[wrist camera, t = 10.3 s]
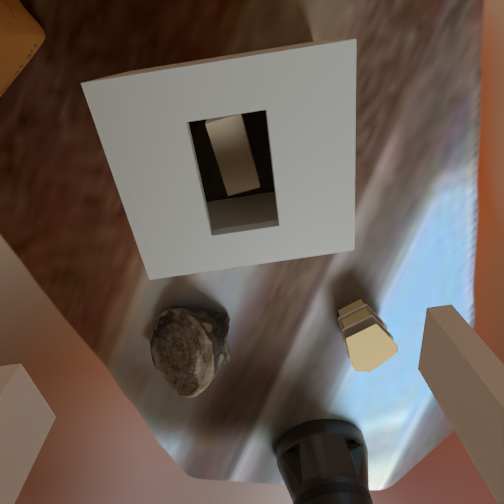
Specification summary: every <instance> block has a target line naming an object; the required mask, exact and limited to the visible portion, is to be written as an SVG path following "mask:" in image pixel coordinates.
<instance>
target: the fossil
mask: <svg viewBox="0 0 504 504" xmlns="http://www.w3.org/2000/svg"><path fill="white" fill-rule="evenodd" d="M229 320H230V318H229V316H228V314H227V313H212V312H211V311H210V310H205V309H191V308H183V307H173V308H170V309H167V310H165V311H163V312H162V313H161V314H159V315H158V317H157V321H156V326H155V327H154V328H153V331H152V333H151V336H150V344H151V348H150V350H151V355H152V359H153V363H154V366H155V368H156V369H158V370H160V371H161V372H162V373H163V375H164V377H165V379H166V381H167V382H168V383H169V386H170V387H171V388H172V389H173V390H176V391H177V392H178V393H179V395H180V396H182V397H185V398H193V397H196V396H198V395H199V394H200V393H202V392H203V391H204V390H205V389H206V388H207V387H208V386H209V384H210V383H211V382H212V381H213V380H214V379H215V378H216V377H217V376H218V374H219V373H220V372H221V371H222V369H223V367H224V366H225V365H226V364H227V363H228V362H229V360H230V352H229V349H228V346H227V339H226V338H227V334H228V330H229Z"/></svg>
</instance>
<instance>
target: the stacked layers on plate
mask: <svg viewBox="0 0 504 504" xmlns="http://www.w3.org/2000/svg"><path fill="white" fill-rule="evenodd" d="M338 312H339V315H340V317H339V318H338V321H339V325H340V330H341V334H342V338H343V343H344V345H345V347H346V348H347V353H348V356H349V358H350V360H351V364H352V366H353V367H354V369H355V370H356V371H367V372H370V371H372V370H374V369H375V368H377V367H378V366H379V365H381V364H382V363H384V362H385V361H387V360H388V359H389V358H391V357H392V356H393V355H395V353H396V352H397V349H398V347H397V344H396V343H395V342H394V341H393V337H392V335H391V334H390V333H389V332H388V331H387V326H386V324H385V323H384V322H383V321H382V320H381V319H380V318H379V317H378V316H377V315H376V313H375V312H374V311H373V310H372V309H371V308H370V307H369V306H368V305H367V304H364V303H363V301H362V300H361V299H359V300H357V301H355V302H353V303H352V304H350V305H348V306H346V307H344V308H342V309H340V310H338Z"/></svg>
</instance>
